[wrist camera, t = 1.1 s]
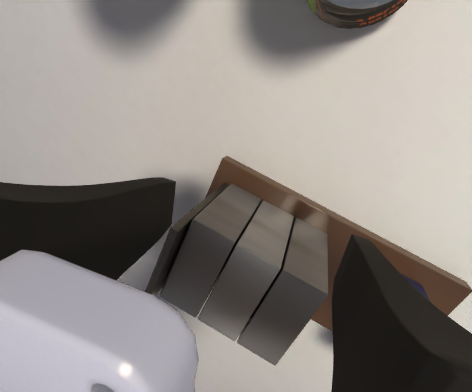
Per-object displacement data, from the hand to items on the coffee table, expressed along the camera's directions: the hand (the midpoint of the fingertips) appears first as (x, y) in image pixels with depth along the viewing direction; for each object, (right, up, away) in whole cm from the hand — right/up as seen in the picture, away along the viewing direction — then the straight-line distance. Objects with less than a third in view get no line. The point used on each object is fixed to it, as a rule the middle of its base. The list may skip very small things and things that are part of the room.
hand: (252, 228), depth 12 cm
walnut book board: (+5, -3, +10) cm, 12 cm away
